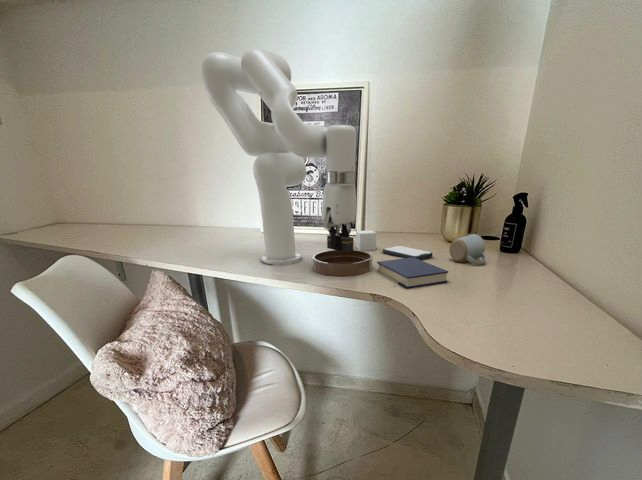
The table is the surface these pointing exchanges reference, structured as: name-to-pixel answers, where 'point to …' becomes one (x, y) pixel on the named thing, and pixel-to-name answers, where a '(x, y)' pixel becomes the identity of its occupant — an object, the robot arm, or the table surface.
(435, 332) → the table surface
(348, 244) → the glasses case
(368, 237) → the white cube
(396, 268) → the book
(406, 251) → the phone case
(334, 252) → the bowl
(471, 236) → the ceramic mug
